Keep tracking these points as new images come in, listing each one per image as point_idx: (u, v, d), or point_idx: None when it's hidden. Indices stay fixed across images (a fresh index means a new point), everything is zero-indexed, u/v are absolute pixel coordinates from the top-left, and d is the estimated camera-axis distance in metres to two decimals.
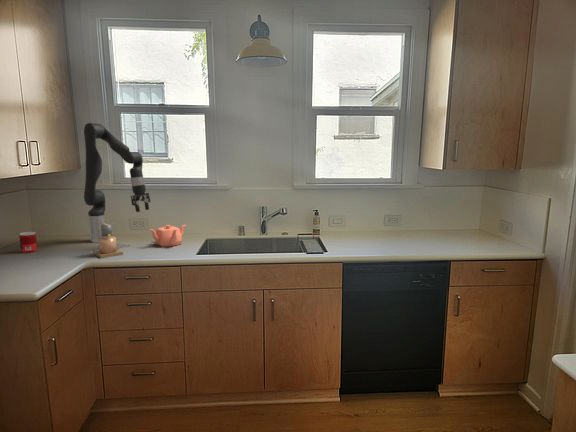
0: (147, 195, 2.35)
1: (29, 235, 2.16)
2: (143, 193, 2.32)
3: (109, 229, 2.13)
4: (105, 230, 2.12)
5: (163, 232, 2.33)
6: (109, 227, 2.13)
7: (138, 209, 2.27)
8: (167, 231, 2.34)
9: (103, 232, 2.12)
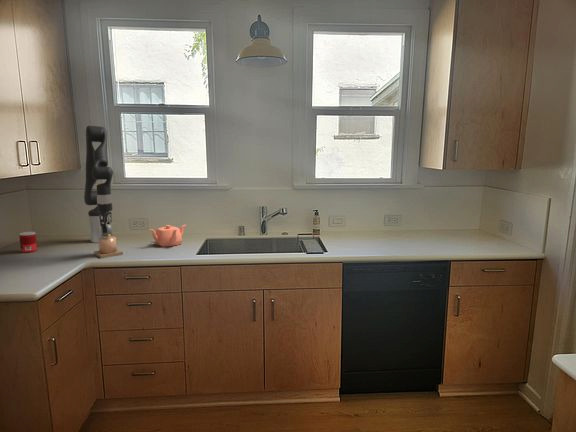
0: (110, 214, 2.18)
1: (29, 235, 2.16)
2: (108, 211, 2.15)
3: (109, 229, 2.13)
4: None
5: (163, 232, 2.33)
6: (109, 227, 2.13)
7: (106, 230, 2.11)
8: (167, 231, 2.34)
9: None
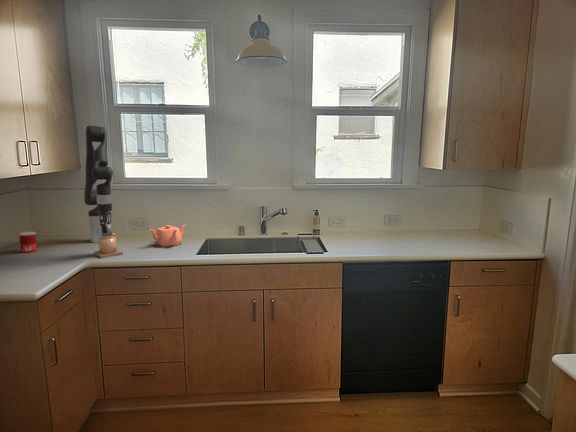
0: (110, 214, 2.18)
1: (29, 235, 2.16)
2: (108, 211, 2.15)
3: (111, 228, 2.15)
4: (109, 229, 2.13)
5: (163, 232, 2.33)
6: (111, 226, 2.15)
7: (106, 230, 2.11)
8: (167, 231, 2.34)
9: (107, 232, 2.12)
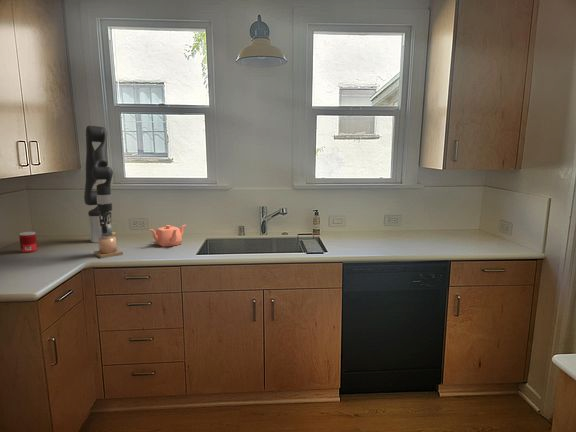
0: (110, 214, 2.18)
1: (29, 235, 2.16)
2: (108, 211, 2.15)
3: None
4: (111, 228, 2.15)
5: (163, 232, 2.33)
6: None
7: (106, 230, 2.11)
8: (167, 231, 2.34)
9: (111, 231, 2.14)
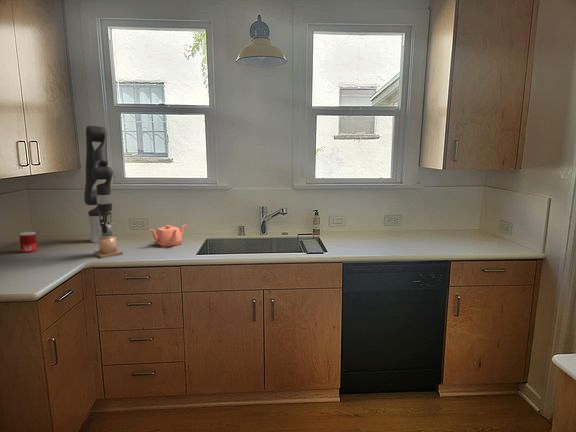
0: (110, 214, 2.18)
1: (29, 235, 2.16)
2: (108, 211, 2.15)
3: None
4: None
5: (163, 232, 2.33)
6: None
7: (106, 230, 2.11)
8: (167, 231, 2.34)
9: None
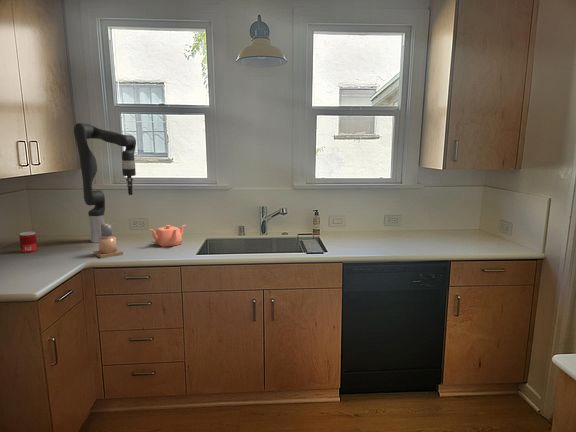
0: None
1: (29, 235, 2.16)
2: None
3: None
4: None
5: (163, 232, 2.33)
6: None
7: (131, 192, 2.31)
8: (167, 231, 2.34)
9: None
